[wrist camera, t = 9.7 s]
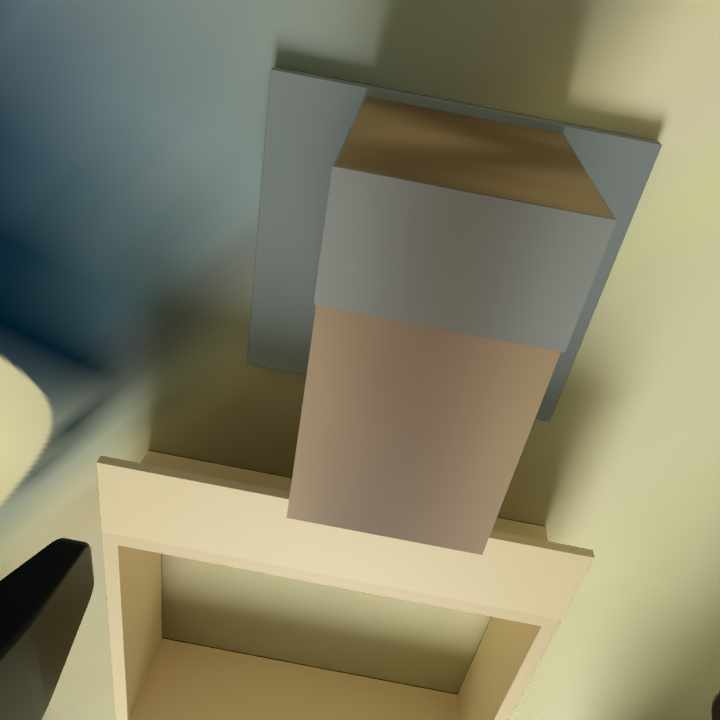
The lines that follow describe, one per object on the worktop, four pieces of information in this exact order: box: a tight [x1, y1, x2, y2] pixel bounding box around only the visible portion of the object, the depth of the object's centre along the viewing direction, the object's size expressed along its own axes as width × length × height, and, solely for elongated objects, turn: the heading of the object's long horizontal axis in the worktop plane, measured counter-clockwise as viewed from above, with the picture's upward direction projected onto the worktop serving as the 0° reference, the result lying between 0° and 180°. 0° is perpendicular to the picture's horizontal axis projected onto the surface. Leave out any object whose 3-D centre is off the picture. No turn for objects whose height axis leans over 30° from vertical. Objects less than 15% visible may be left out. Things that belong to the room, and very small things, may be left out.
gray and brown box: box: [287, 96, 617, 555], centre depth 17 cm, size 5×9×6 cm, turn 171°
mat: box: [247, 67, 662, 421], centre depth 19 cm, size 10×9×1 cm
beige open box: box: [97, 451, 594, 720], centre depth 26 cm, size 15×18×4 cm
